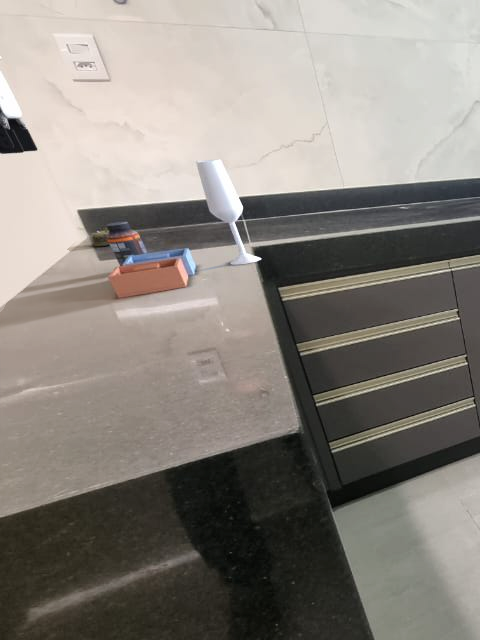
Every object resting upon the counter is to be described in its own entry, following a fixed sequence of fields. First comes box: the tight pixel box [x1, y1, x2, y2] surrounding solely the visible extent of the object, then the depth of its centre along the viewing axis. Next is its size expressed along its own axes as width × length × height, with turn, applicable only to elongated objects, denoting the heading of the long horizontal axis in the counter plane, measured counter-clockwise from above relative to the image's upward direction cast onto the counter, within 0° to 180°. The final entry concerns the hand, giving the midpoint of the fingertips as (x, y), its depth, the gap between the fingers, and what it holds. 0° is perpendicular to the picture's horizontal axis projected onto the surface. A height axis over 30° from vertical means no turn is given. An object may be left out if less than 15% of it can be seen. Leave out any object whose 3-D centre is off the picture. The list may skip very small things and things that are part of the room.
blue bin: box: [123, 247, 196, 277], centre depth 124 cm, size 11×10×5 cm
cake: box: [91, 226, 110, 247], centre depth 161 cm, size 10×10×5 cm
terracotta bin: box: [107, 258, 189, 299], centre depth 115 cm, size 11×10×5 cm
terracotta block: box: [133, 263, 161, 272], centre depth 114 cm, size 4×4×4 cm
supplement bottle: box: [105, 221, 149, 266], centre depth 128 cm, size 6×6×11 cm
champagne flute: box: [195, 159, 262, 266], centre depth 129 cm, size 7×7×24 cm
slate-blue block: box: [145, 253, 170, 261], centre depth 123 cm, size 4×4×4 cm
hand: (19, 152), depth 101 cm, fingers open, 9 cm apart
